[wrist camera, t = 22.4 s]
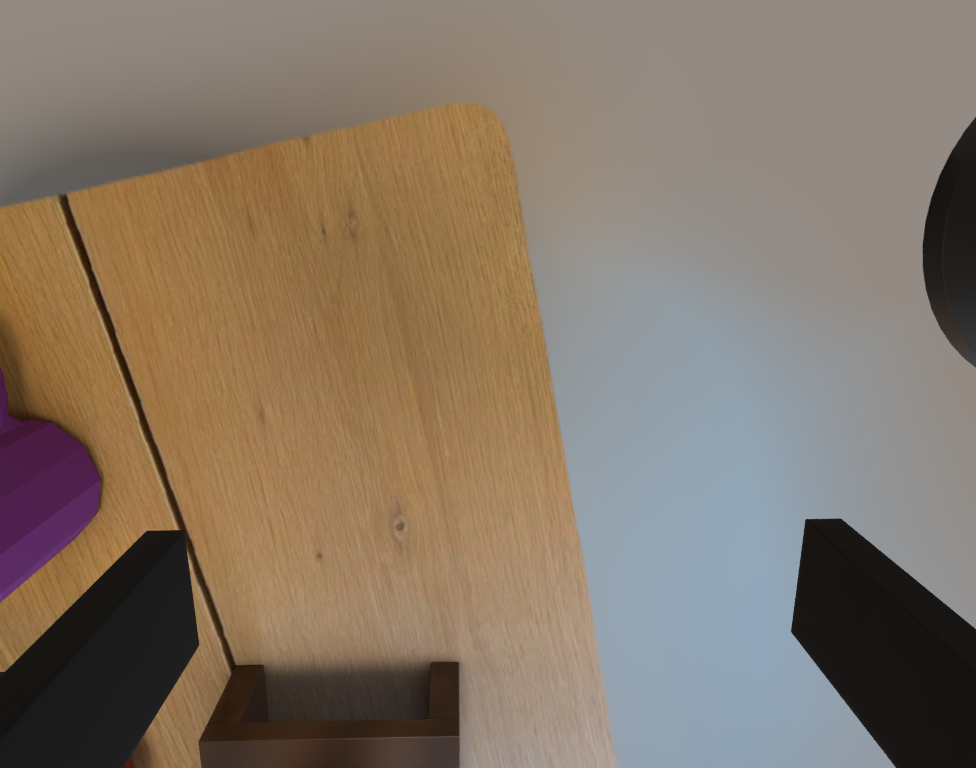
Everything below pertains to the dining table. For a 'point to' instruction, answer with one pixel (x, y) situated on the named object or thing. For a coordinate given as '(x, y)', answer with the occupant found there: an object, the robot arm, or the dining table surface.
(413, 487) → the dining table surface
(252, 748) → the shelf stand
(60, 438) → the mug
